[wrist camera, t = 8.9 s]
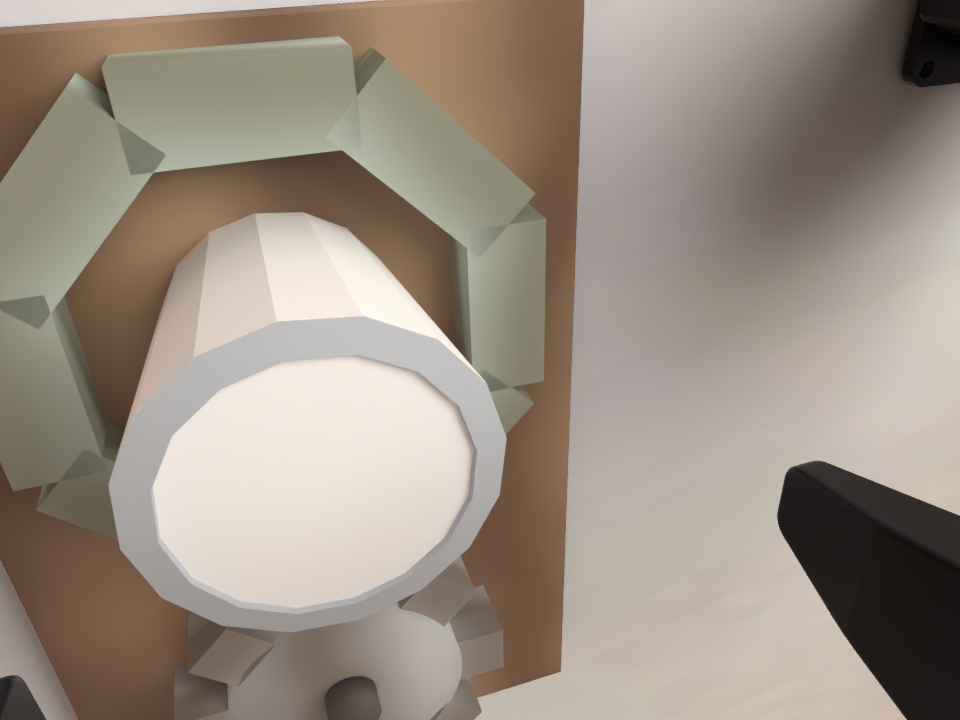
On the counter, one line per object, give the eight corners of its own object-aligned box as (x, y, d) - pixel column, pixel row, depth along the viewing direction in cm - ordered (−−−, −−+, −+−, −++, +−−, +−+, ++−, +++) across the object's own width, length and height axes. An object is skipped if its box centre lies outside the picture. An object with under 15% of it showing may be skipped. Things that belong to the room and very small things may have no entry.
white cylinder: (87, 219, 17) (34, 383, 11) (395, 158, 18) (491, 273, 12) (184, 463, 20) (182, 683, 15) (434, 396, 22) (522, 571, 16)
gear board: (563, -13, 19) (644, 5, 15) (548, 647, 31) (591, 734, 28) (-218, 43, 15) (-335, 82, 11) (124, 775, 27) (116, 895, 24)
